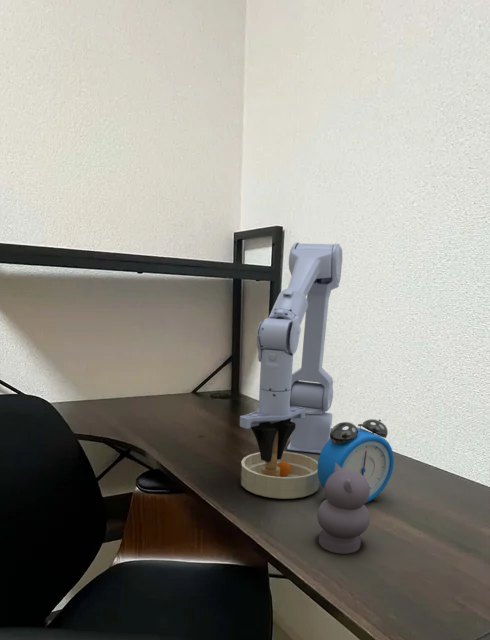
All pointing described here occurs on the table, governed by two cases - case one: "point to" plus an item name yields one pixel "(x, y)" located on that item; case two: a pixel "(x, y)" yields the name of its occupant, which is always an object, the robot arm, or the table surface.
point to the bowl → (281, 477)
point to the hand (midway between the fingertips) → (271, 459)
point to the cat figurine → (344, 511)
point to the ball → (284, 468)
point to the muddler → (272, 461)
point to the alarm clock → (359, 454)
